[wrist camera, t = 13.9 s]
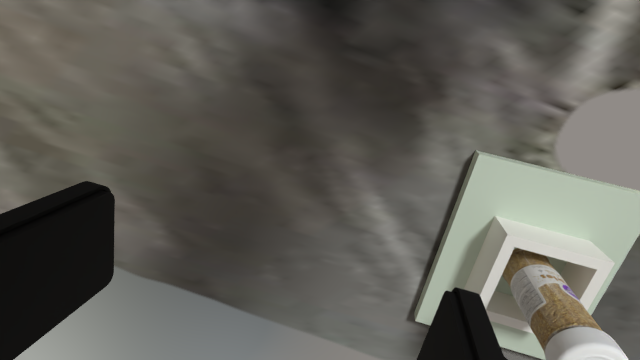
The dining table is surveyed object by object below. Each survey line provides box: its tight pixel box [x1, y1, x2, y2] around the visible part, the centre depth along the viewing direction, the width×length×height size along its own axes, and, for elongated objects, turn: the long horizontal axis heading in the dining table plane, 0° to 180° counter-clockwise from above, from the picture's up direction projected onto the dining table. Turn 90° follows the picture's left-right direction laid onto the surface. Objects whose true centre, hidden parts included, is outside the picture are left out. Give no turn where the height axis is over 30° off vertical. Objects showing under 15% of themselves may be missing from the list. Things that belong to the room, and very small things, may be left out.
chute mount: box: [414, 151, 640, 360], centre depth 35 cm, size 20×16×6 cm
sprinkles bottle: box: [502, 248, 628, 360], centre depth 30 cm, size 5×5×14 cm
